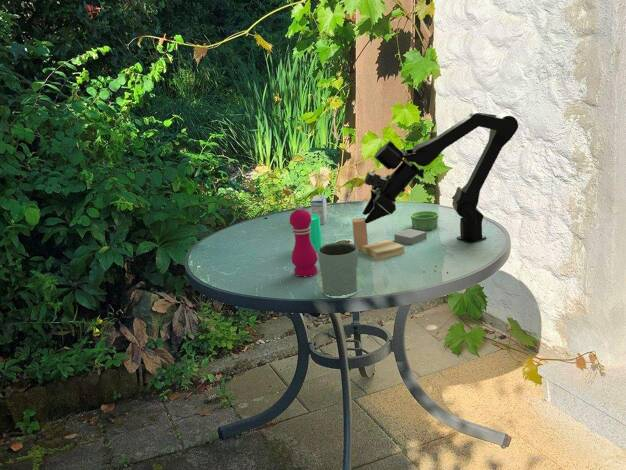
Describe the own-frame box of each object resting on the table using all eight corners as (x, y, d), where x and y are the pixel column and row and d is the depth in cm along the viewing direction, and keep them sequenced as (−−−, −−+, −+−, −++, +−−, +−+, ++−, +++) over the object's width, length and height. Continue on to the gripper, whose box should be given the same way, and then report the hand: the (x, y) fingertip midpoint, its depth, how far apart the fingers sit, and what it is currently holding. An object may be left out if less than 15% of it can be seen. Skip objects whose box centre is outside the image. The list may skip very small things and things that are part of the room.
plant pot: (330, 284, 180) (326, 241, 176) (366, 286, 176) (362, 242, 172) (315, 299, 171) (311, 254, 168) (353, 301, 167) (349, 255, 164)
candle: (323, 245, 212) (320, 209, 209) (321, 252, 206) (318, 214, 203) (304, 247, 213) (300, 210, 209) (302, 253, 207) (298, 215, 204)
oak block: (404, 254, 199) (404, 246, 198) (378, 261, 195) (378, 253, 194) (388, 247, 207) (387, 239, 206) (362, 253, 203) (362, 245, 202)
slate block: (426, 239, 210) (426, 232, 209) (411, 245, 206) (411, 237, 205) (409, 236, 215) (409, 228, 214) (394, 241, 211) (394, 234, 210)
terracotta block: (367, 245, 208) (365, 217, 206) (368, 249, 205) (366, 221, 202) (354, 246, 208) (352, 218, 206) (354, 250, 205) (352, 222, 202)
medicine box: (315, 218, 244) (313, 195, 241) (327, 218, 243) (325, 194, 240) (312, 225, 236) (310, 201, 234) (325, 224, 235) (323, 200, 233)
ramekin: (426, 221, 227) (426, 209, 226) (444, 227, 220) (444, 214, 219) (405, 227, 223) (404, 214, 222) (423, 233, 216) (422, 219, 214)
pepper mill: (299, 280, 185) (291, 209, 179) (289, 272, 192) (282, 204, 186) (323, 274, 188) (316, 204, 182) (312, 267, 194) (306, 199, 188)
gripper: (376, 156, 208) (343, 194, 211) (382, 168, 190) (345, 209, 193) (403, 179, 210) (370, 216, 213) (411, 193, 192) (374, 233, 195)
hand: (364, 218), depth 204 cm, fingers open, 9 cm apart
